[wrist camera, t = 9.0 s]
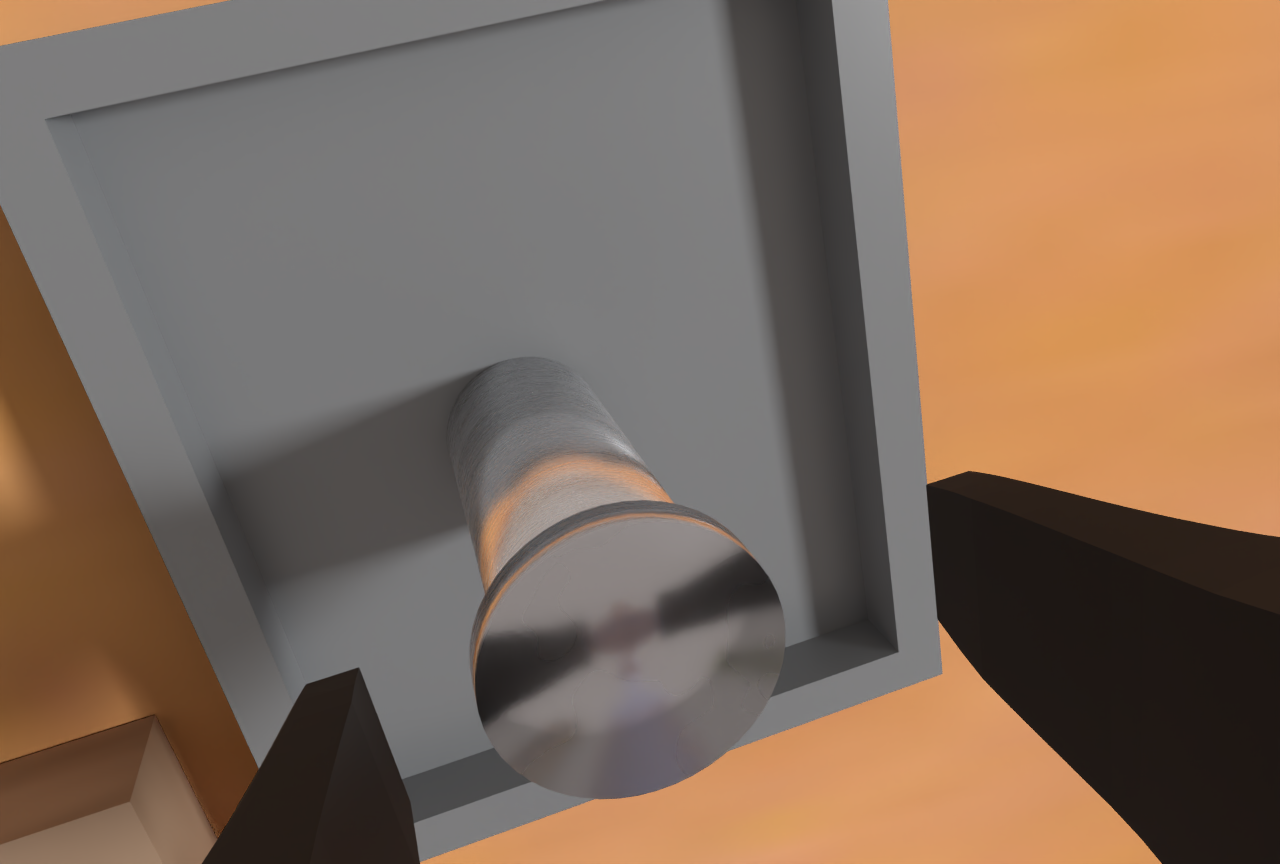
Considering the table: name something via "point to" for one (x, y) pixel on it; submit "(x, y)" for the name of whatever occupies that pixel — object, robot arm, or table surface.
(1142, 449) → the table surface
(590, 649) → the pin
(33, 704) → the table surface
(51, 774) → the pin block
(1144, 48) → the table surface
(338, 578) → the tray
